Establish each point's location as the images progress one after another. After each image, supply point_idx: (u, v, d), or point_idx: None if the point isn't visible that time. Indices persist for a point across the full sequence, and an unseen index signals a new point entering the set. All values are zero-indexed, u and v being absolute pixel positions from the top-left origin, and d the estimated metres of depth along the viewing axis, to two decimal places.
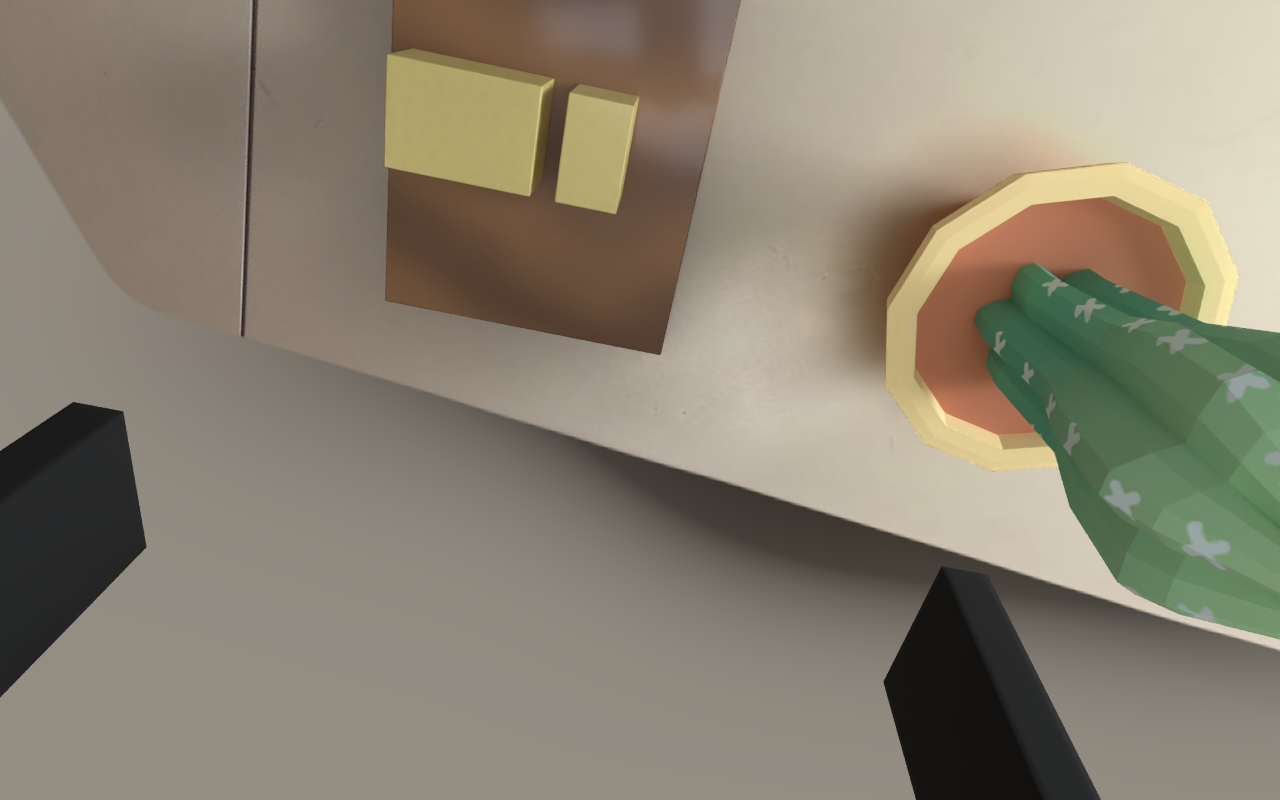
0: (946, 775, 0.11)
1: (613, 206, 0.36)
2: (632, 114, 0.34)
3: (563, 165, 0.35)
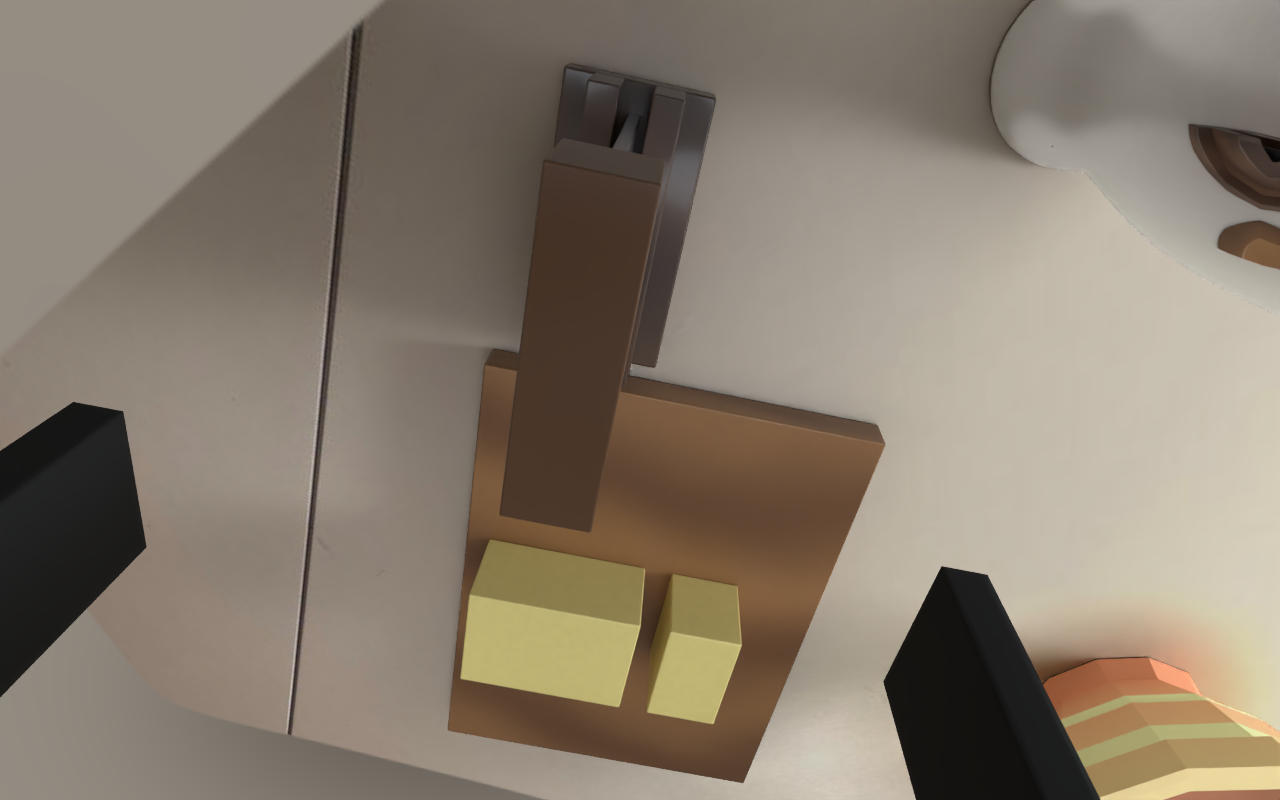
0: (946, 775, 0.11)
1: (711, 718, 0.33)
2: (738, 650, 0.31)
3: (658, 686, 0.32)
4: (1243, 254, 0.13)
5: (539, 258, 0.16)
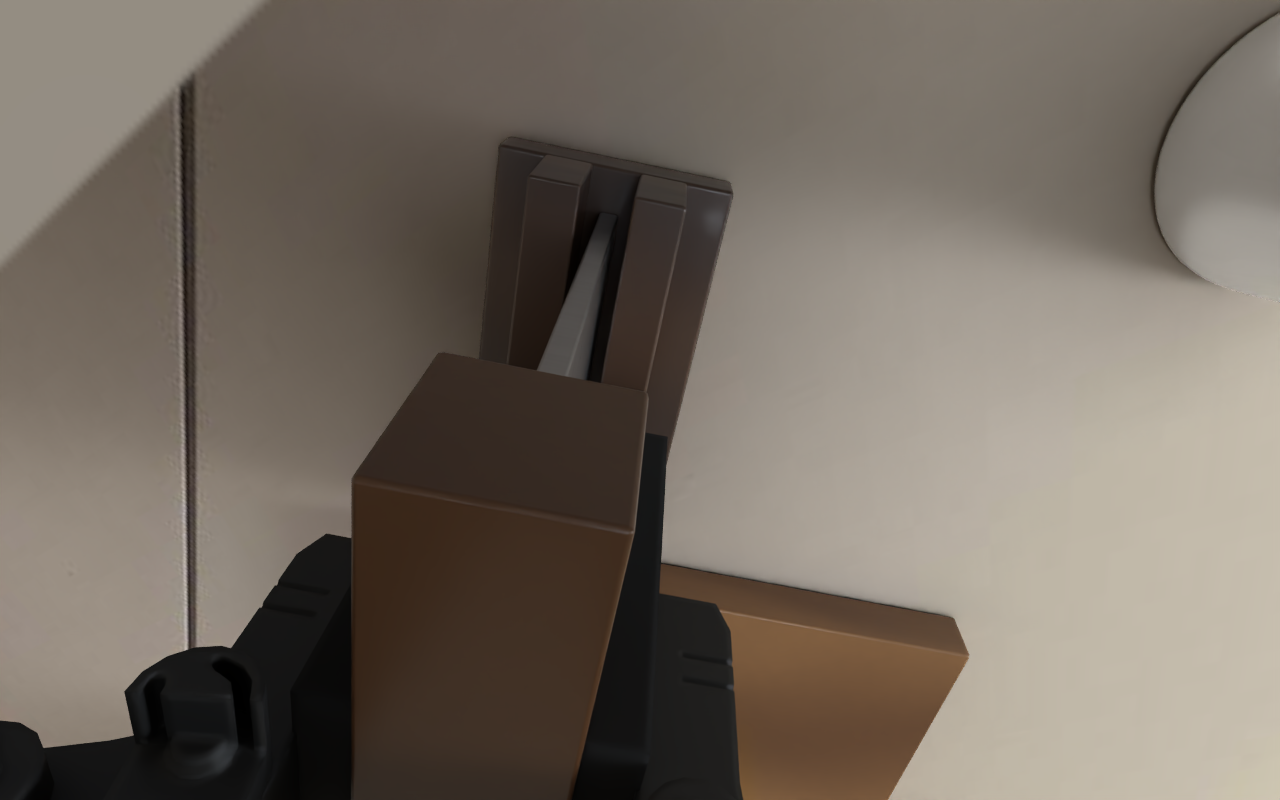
0: None
1: None
2: None
3: None
4: None
5: (367, 651, 0.07)
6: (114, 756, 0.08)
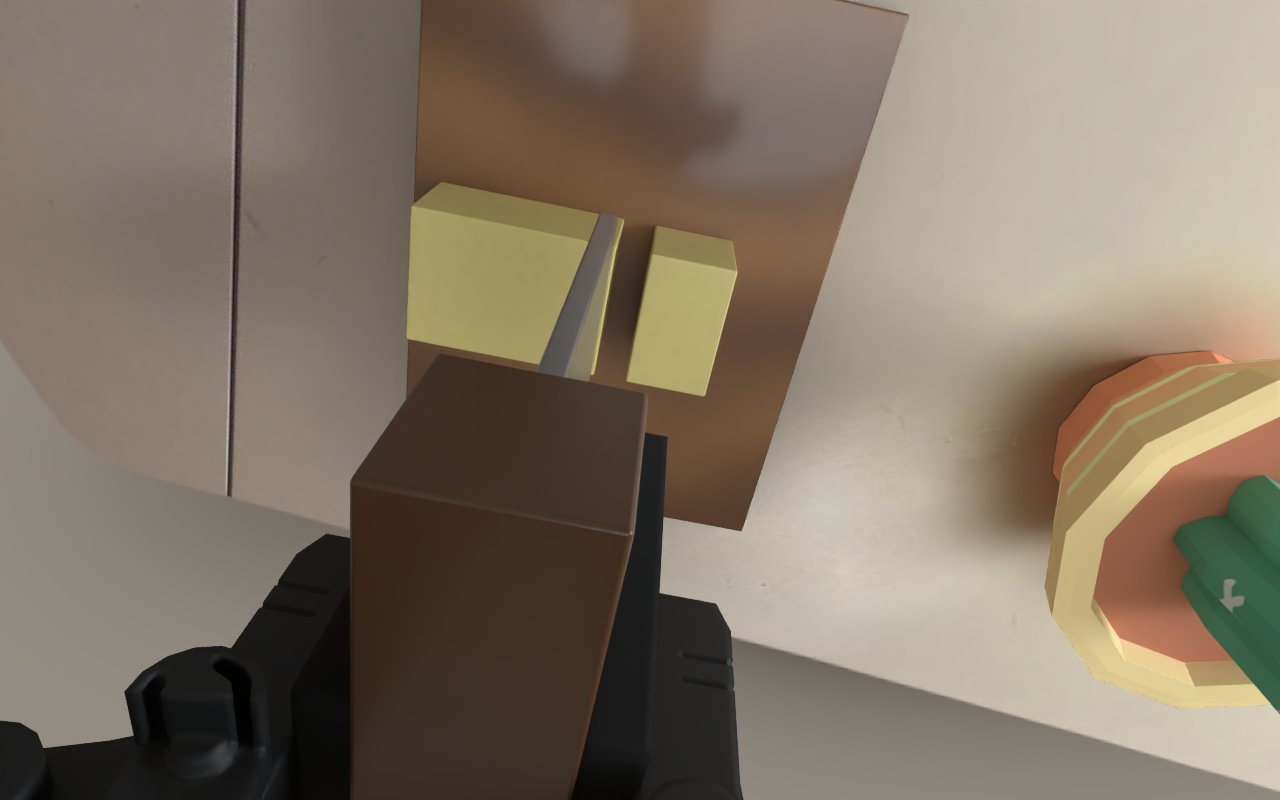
0: None
1: (702, 388, 0.28)
2: (733, 280, 0.26)
3: (639, 340, 0.27)
4: None
5: (367, 653, 0.07)
6: (113, 756, 0.08)
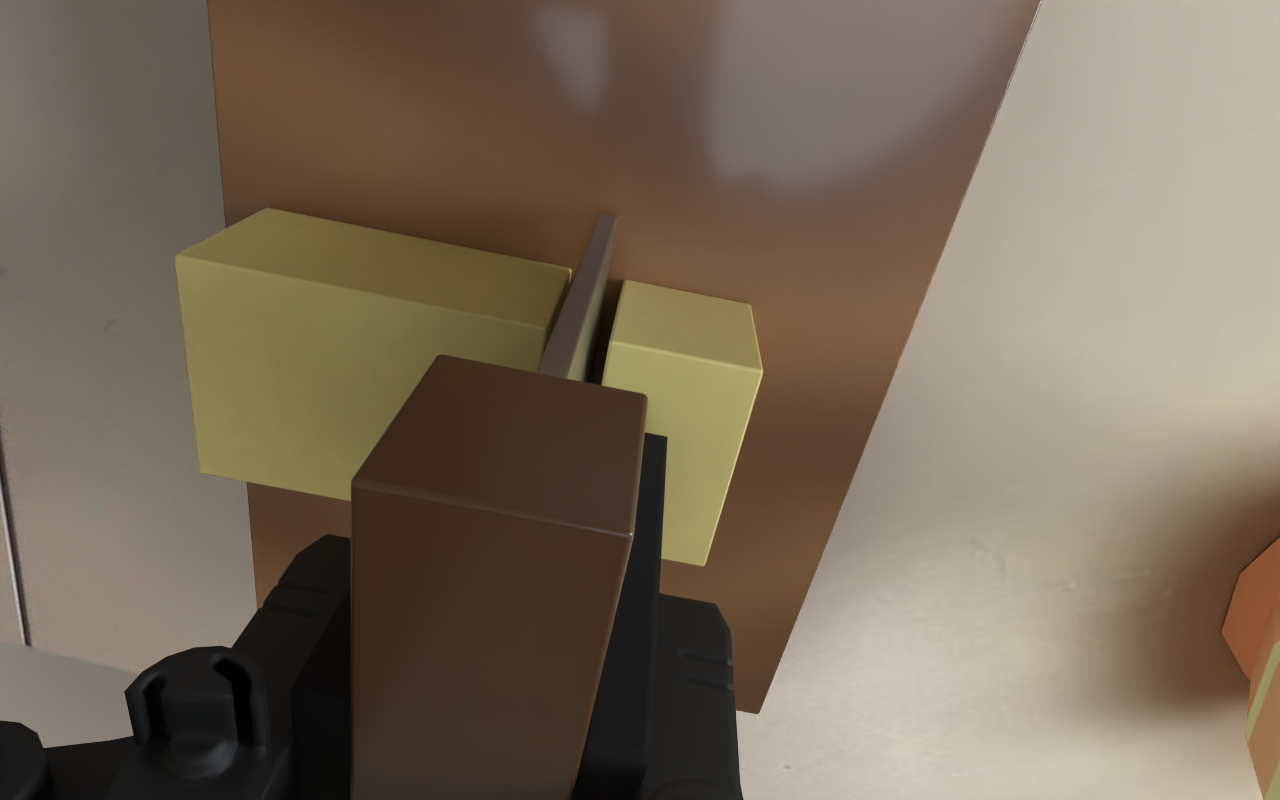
0: None
1: (700, 554, 0.17)
2: (756, 386, 0.15)
3: None
4: None
5: (366, 653, 0.07)
6: (114, 756, 0.08)
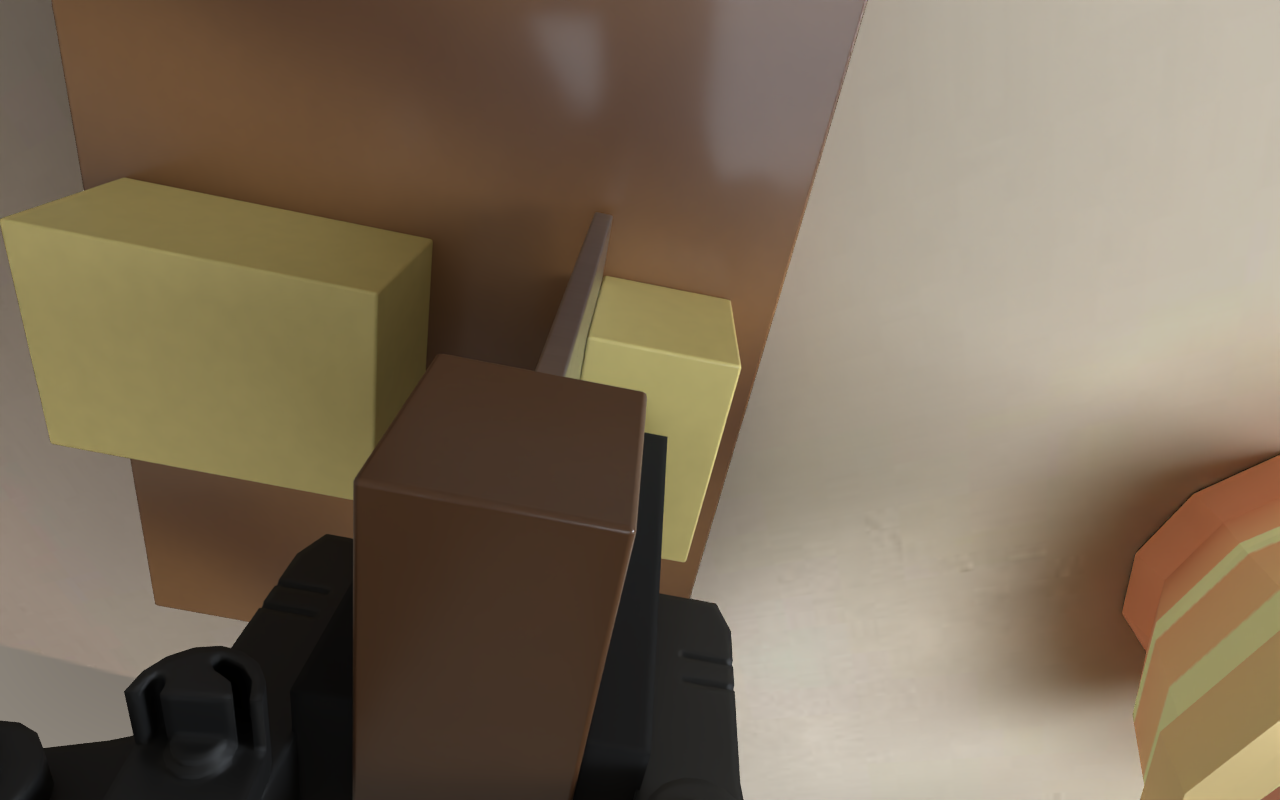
0: None
1: (681, 549, 0.17)
2: (735, 381, 0.15)
3: None
4: None
5: (369, 652, 0.07)
6: (114, 756, 0.08)
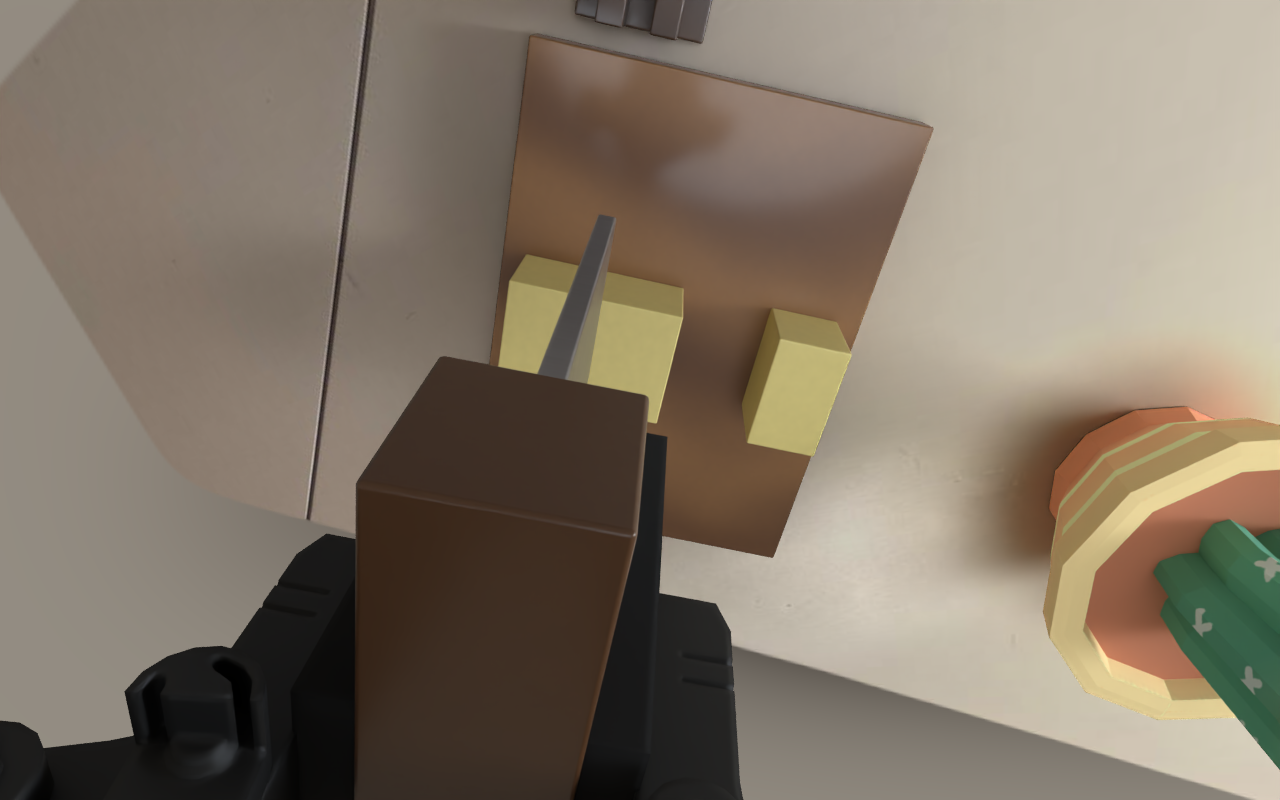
0: None
1: (812, 449, 0.32)
2: (847, 362, 0.30)
3: (762, 408, 0.31)
4: None
5: (371, 653, 0.07)
6: (114, 756, 0.08)
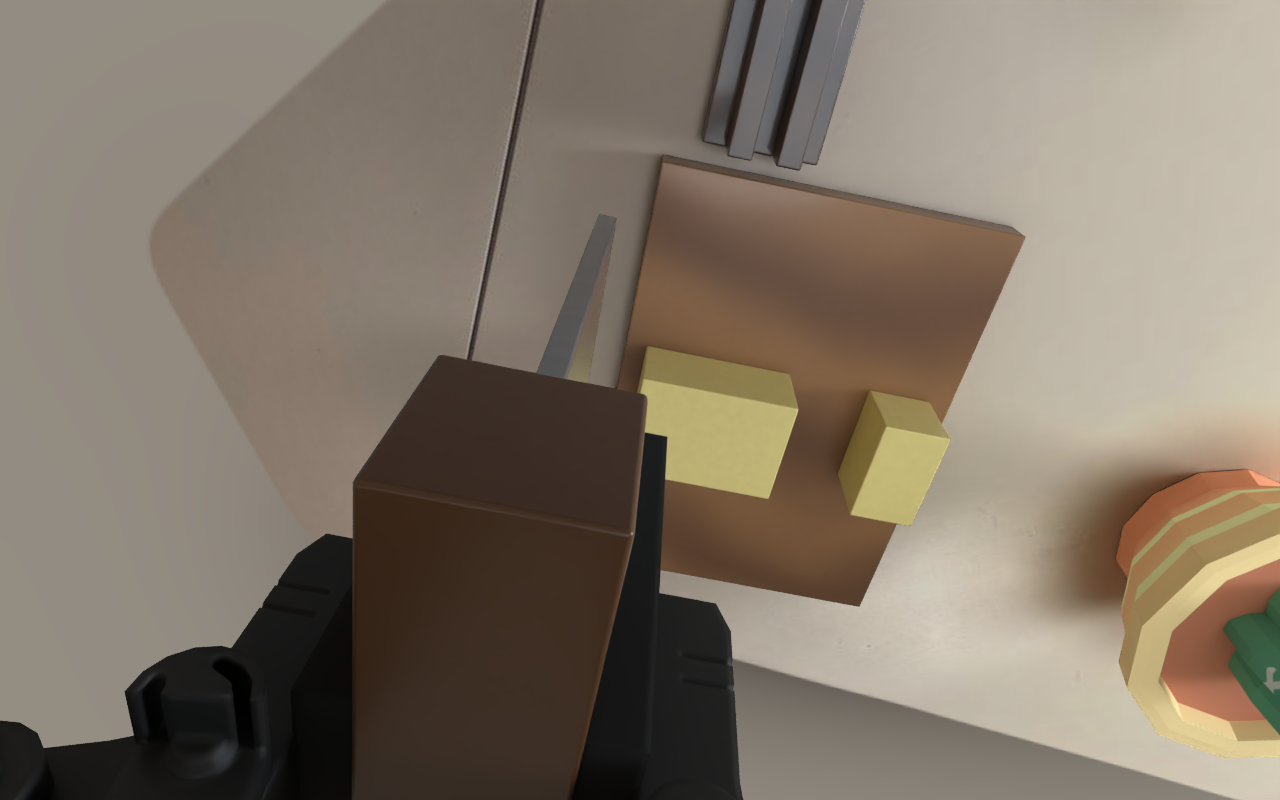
0: None
1: (909, 520, 0.36)
2: (946, 445, 0.34)
3: (866, 486, 0.35)
4: None
5: (369, 652, 0.07)
6: (114, 756, 0.08)
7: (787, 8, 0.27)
